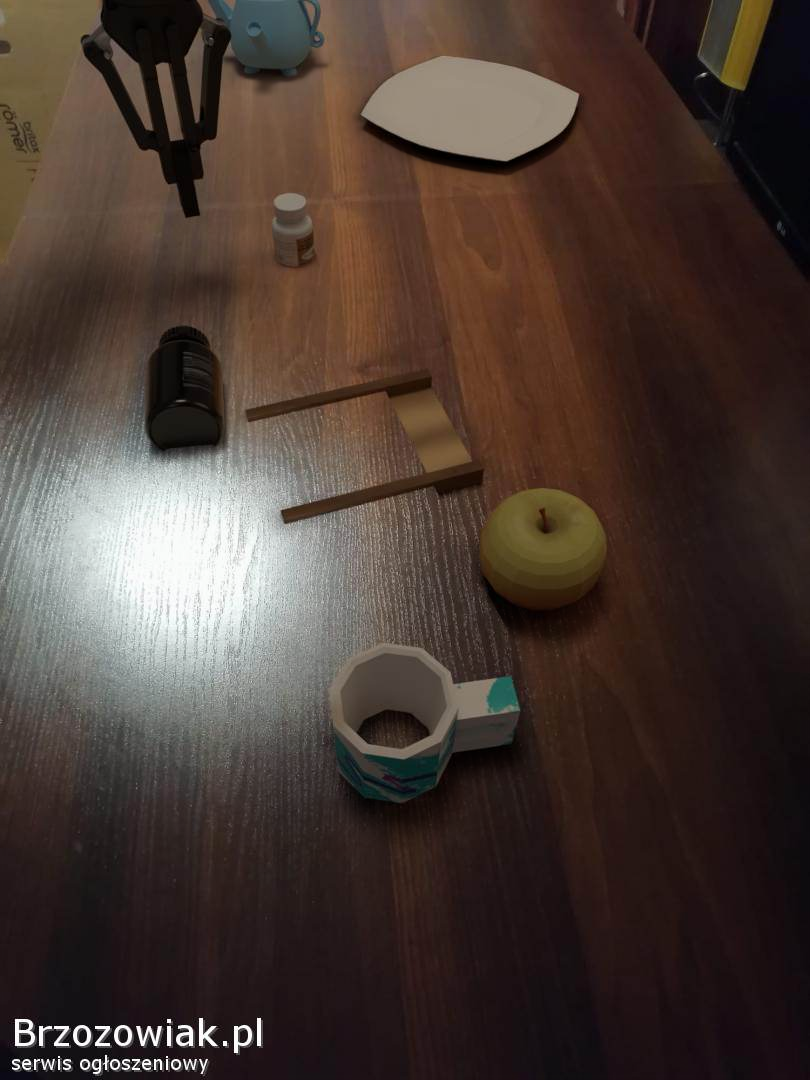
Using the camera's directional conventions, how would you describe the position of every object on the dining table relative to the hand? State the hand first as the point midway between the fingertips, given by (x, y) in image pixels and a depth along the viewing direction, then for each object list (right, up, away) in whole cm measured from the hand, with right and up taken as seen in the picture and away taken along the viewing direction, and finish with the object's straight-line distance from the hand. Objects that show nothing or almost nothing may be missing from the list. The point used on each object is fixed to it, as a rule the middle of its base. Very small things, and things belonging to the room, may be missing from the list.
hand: (190, 209), depth 87 cm
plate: (+31, +25, +32) cm, 51 cm away
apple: (+32, -37, -17) cm, 52 cm away
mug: (+23, -48, -26) cm, 60 cm away
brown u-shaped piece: (+18, -26, -9) cm, 32 cm away
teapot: (+2, +37, +41) cm, 56 cm away
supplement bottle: (+3, -24, -12) cm, 27 cm away
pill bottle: (+10, -3, +9) cm, 14 cm away
